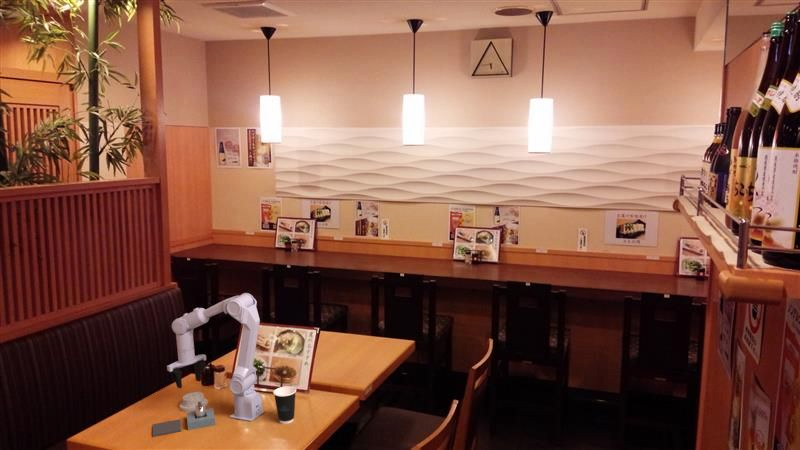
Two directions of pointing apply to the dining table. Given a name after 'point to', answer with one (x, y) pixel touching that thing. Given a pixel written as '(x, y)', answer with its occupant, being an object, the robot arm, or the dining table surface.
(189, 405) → the mechanical component
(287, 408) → the dixie cup
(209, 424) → the socket block
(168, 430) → the key mat
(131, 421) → the dining table surface
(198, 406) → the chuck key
